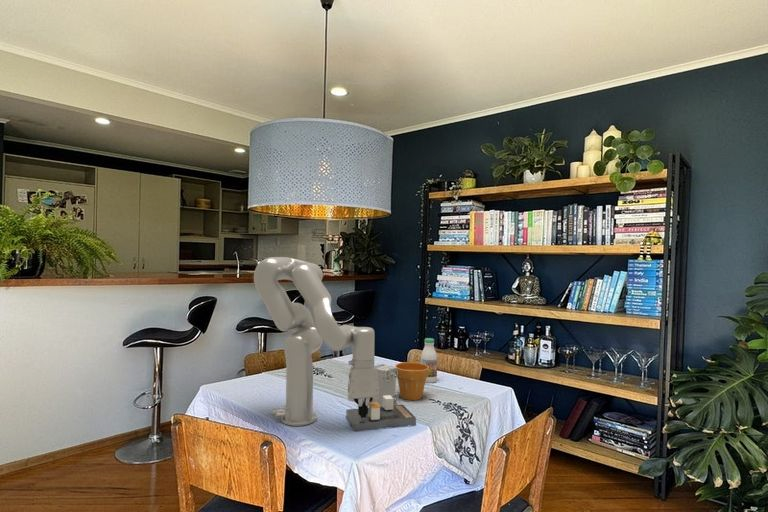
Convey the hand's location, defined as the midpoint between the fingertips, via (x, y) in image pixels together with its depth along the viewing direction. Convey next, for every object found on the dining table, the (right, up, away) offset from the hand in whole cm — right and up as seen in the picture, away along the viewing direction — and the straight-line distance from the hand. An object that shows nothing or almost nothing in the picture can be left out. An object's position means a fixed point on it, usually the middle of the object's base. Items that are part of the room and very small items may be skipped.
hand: (362, 416), depth 153 cm
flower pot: (+19, -4, +33) cm, 38 cm away
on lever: (+9, -1, +11) cm, 14 cm away
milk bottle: (+28, -4, +57) cm, 64 cm away
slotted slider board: (+6, -4, +6) cm, 9 cm away
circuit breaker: (+5, -4, +24) cm, 25 cm away
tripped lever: (+4, -1, +1) cm, 4 cm away
